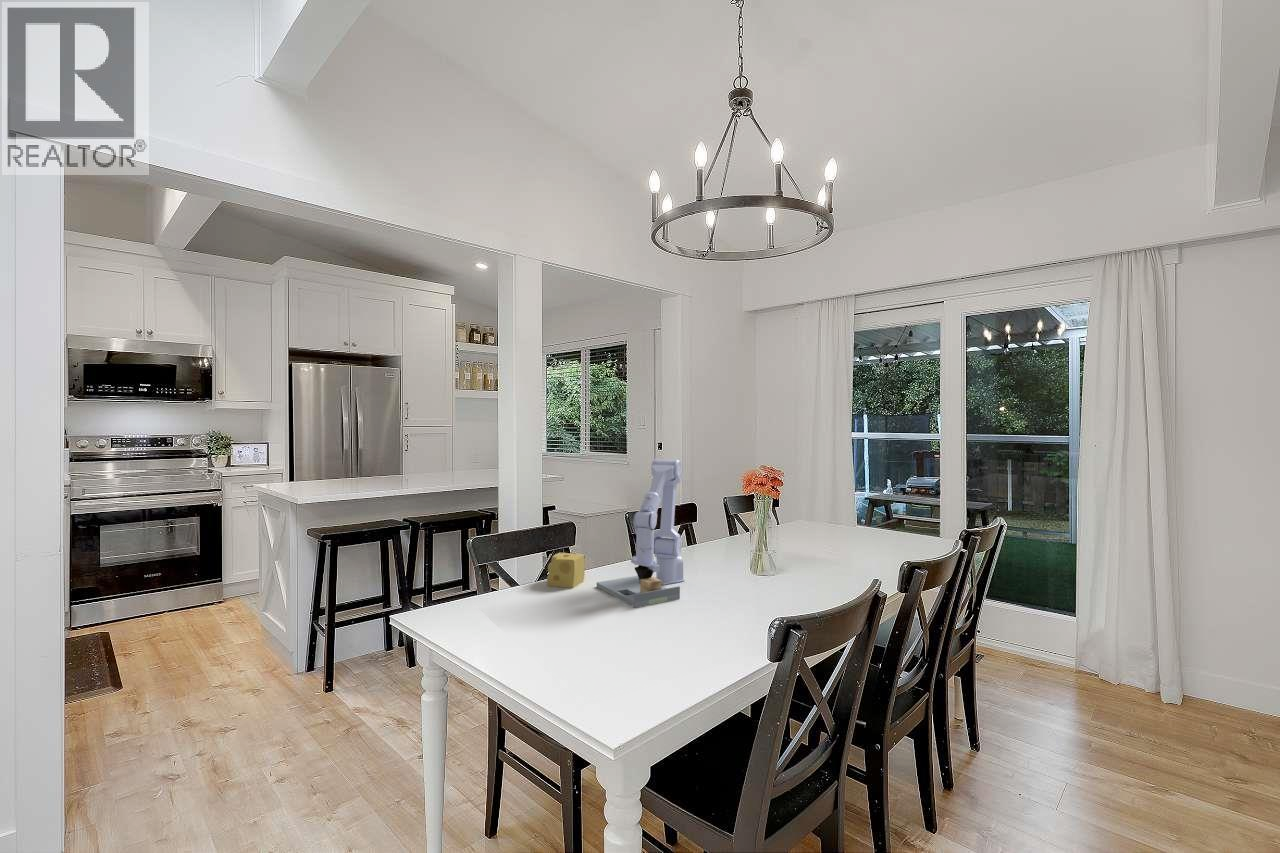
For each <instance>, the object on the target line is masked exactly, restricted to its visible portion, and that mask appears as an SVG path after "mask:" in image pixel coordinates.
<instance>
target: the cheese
mask: <svg viewBox="0 0 1280 853" xmlns="http://www.w3.org/2000/svg"><path fill="white" fill-rule="evenodd" d="M585 562H586V560H585V554H583V553H568V552H558V553H556V554H554V555H552V556H551V562H550V563H549V564H548V565H547V572H548V575H547V576H546V584H547V586H548V587H557V586H559V587H560V588H566V587H569V588H568V589H574V588H576V587H577V586H578V585H580V584H581V583H582V582H584V581H585V575H586V574H585V573H586V571H585V570H586V569H585V565H586V563H585ZM583 580H584V581H583ZM579 583H580V584H579ZM575 586H576V587H575Z"/></svg>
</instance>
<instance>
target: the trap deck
mask: <svg viewBox="0 0 1280 853" xmlns="http://www.w3.org/2000/svg"><path fill="white" fill-rule="evenodd" d="M596 588H598V589H600V590H601V591H604V592H605V593H607V594H609V595H611V596H613V597H615V598H616V597H617V598H616V599H618V598H619V600H620V601H622V602H624V603H626V604H627V605H629V606H631V605H632V607H633V606H634V608H635V607H636V608H639V607H640V606H641V607H645V605H646V606H650V605H654V604H655V603H656V604H660V602H661V603H666V602H669V601H670V602H671V601H676V600H675V599H677V600H680V599H679V598H681V595H680V594H681V593H680V592H681V587H680V586H673V587H668V588H667V587H665V586H663V585H662V589H661V590H655V591H650V592H644V593H640V581H639V577H638V575H634V576H633V575H632V576H627V577H621V578H616V579H609V580H602V581H597V582H596ZM665 601H666V602H665Z"/></svg>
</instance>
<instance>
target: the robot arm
mask: <svg viewBox="0 0 1280 853" xmlns="http://www.w3.org/2000/svg"><path fill="white" fill-rule="evenodd" d="M650 467H651V468H650V469H651V476H652V481H651V485H650V488H649V492H647V493H645V495H644V496H643V499H642V503H641V505H640V508H639V510H638V511H637V512H635V513H634V516H633V522H632V523H633V528H634V533H635V535H636V538H635V539H636V542H635V543H636V544H635V547H636V548H635V549H636V550H635V552H636V553H635V555H634V556H631V557H630V562H631V563H632V564H633V565H635V567H634V570H635V572H636V574H637V575H636V576H638V577H639V581H640V579H644V578H650V577H653V574H654V573H656V575H655V576H656V577H655V578H657V579H659V580H661V581H662V586H663V585H670V584H676V583H682V582H685V578H684V560H683V558H682V556H680V554H681V552H682V539H681V534H680V533H678V532H677V531H676V530H675V529H674V527H675V514H676V512H675V511H676V499H677V498H676V496H677V488H678V487H677V485H678V484H679V483H681V480H682V472H683V466H682V464H681V461H680V459H658V458H654V459H653V460H652V462H651V466H650ZM661 493H662V495H661ZM660 495H661V496H662V497H660ZM660 506H661V510H660V511H661V514H660V526H659V529H658V530H657V531H655V529H656V526H657V522H658V509H659V507H660ZM654 557H656V560H654Z"/></svg>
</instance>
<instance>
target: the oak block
mask: <svg viewBox="0 0 1280 853" xmlns="http://www.w3.org/2000/svg"><path fill="white" fill-rule="evenodd" d="M662 586H663V584H662V581H661V580H659V579H657V578H656V577H654V576H652V577H650V578H644V579H640V593H644V592H650V591H655V590H661V589H662Z"/></svg>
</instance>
